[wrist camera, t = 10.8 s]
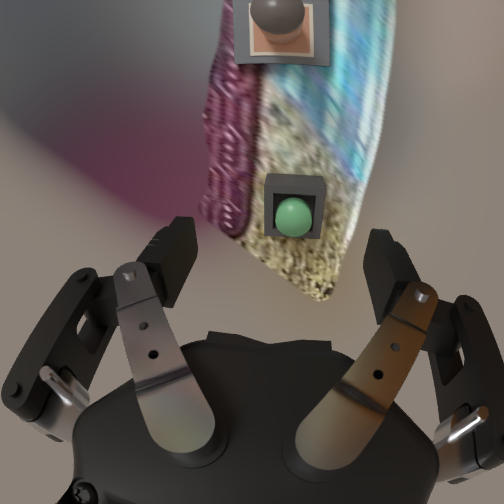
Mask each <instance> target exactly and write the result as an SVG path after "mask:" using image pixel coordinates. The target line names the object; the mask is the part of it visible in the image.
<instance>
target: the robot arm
mask: <svg viewBox="0 0 504 504" xmlns="http://www.w3.org/2000/svg"><path fill="white" fill-rule="evenodd" d="M197 253H198V245H197V238H196V231H195V223H194V219H193V217H180V216H177V217H175V219H174V220H173V221H172V223H171V224H170V225H169V227H168V226H167V227H166V226H165V227H164V228H162V229H161V230H160V231H158V232H157V233H156V234H155V236H154V237H153V238H152V240H151V241H150V242H149V244H148V245H147V246H146V248H145V249H144V250H143V252H142V253H141V254H140V256H139V257H138V258H137V260H136V261H135V262H128V263H125V264H123V265H121V266H120V267H119V268H117V269H116V271H115V272H114V275H113V276H106V277H98V275H97V273H96V270H95V269H93V268H82V269H80V270H78V271H76V272H75V273H73V274H72V275H71V276H70V278H69V279H68V280H67V282H66V283H65V285H64V286H63V287H62V289H61V290H60V291H59V293H58V294H57V295H56V297H55V298H54V300H53V301H52V303H51V304H50V306H49V307H48V309H47V310H46V311H45V313H44V314H43V316H42V317H41V319H40V320H39V322H38V324H37V325H36V327H35V328H34V330H33V332H32V333H31V335H30V336H29V338H28V340H27V342H26V343H25V345H24V347H23V348H22V350H21V352H20V354H19V355H18V357H17V359H16V361H15V363H14V365H13V366H12V368H11V370H10V372H9V374H8V376H7V378H6V380H5V382H4V384H3V387H2V391H1V397H2V401H3V403H4V405H5V406H6V407H7V408H9V409H10V410H11V411H12V412H14V413H15V414H16V415H17V416H19V417H20V419H21V420H23V421H24V422H25V423H27V424H28V425H29V426H31V427H32V428H34V429H35V430H37V431H38V432H40V433H42V434H45V435H46V436H48V437H49V438H51V439H52V440H54V441H57V442H63V441H64V442H66V443H69V444H71V445H72V446H73V453H74V473H73V480H72V482H71V485H70V486H69V488H68V490H67V491H66V492H65V494H64V495H63V496H62V497H61V499H60V500H59V501H58V502H57V503H56V504H427V502H428V499H429V497H430V494H431V492H432V490H433V488H434V485H436V484H440V483H444V482H448V483H450V484H458V483H460V482H463V481H466V480H468V479H470V478H473V477H475V476H478V475H480V474H482V473H484V472H487V471H489V470H491V469H493V468H495V467H497V466H499V465H501V464H503V463H504V363H503V360H502V357H501V354H500V351H499V348H498V345H497V343H496V340H495V338H494V335H493V333H492V330H491V328H490V325H489V323H488V321H487V318H486V316H485V314H484V312H483V310H482V308H481V306H480V304H479V303H478V302H477V301H476V300H475V299H474V298H472V297H470V296H467V295H460V296H458V297H457V299H456V300H455V302H454V304H453V303H450V302H446V301H443V300H440V299H438V294H437V292H436V291H435V290H434V288H433V287H431V286H430V285H428V284H427V283H424V282H421V280H420V278H419V275H418V273H417V271H416V269H415V267H414V265H413V264H412V261H411V259H410V258H409V255H408V253H407V251H406V249H405V248H404V247H403V246H402V245H401V244H400V243H398V242H396V241H394V240H393V238H392V236H391V234H390V232H389V231H388V230H383V229H372V230H371V232H370V235H369V239H368V244H367V248H366V252H365V255H364V261H363V269H364V274H365V277H366V280H367V285H368V288H369V292H370V296H371V300H372V304H373V308H374V312H375V316H376V321H377V325H381V326H380V327H379V329H378V330H377V332H376V333H375V335H374V336H373V337H372V339H371V340H370V342H369V343H368V345H367V346H366V348H365V349H364V350H363V351H362V353H361V354H360V356H359V357H358V358H357V360H356V361H355V360H353V359H351V358H350V357H348V356H346V355H344V354H342V353H339V352H337V351H333V350H332V346H331V341H319V340H318V341H317V340H296V341H289V342H282V343H274V344H267V343H263V342H260V341H257V340H253V339H251V338H247V337H244V336H241V335H238V334H229V333H221V332H212V331H209V332H208V335H207V339H206V340H199V341H195V342H191V343H188V344H185V345H183V346H181V347H179V346H178V343H177V341H176V339H175V336H174V334H173V332H172V330H171V327H170V325H169V323H168V320H167V318H166V316H165V313H164V311H163V307H167V308H173V307H174V304H175V302H176V300H177V298H178V296H179V293H180V291H181V289H182V287H183V285H184V283H185V281H186V279H187V276H188V274H189V272H190V270H191V268H192V266H193V264H194V262H195V260H196V258H197ZM83 314H84V315H85V317H86V321H85V323H84V325H83V326H82V328H81V330H80V332H79V334H78V335H77V325H78V323H79V321H80V319H81V317H82V316H83ZM117 326H120V330H121V335H122V339H123V343H124V347H125V351H126V355H127V358H128V362H129V366H130V369H131V372H132V376H133V378H132V379H130V380H129V381H127V382H126V383H124V384H123V385H121V386H120V387H118V388H117V389H115V390H114V391H112V392H110V393H109V394H107V395H106V396H104V397H102V398H101V399H99V400H98V401H96V402H94V403H93V404H92V405H90V406H89V402H90V398H89V394H88V392H87V391H88V389H89V387H90V384H91V382H92V379H93V377H94V374H95V372H96V370H97V368H98V365H99V363H100V361H101V359H102V357H103V354H104V352H105V350H106V347H107V345H108V343H109V341H110V339H111V337H112V335H113V333H114V331H115V329H116V327H117ZM461 347H462V350H463V354H464V358H465V361H464V366H463V364H462V360H461V356H460V353H459V349H460V348H461ZM420 350H423V351H427V352H428V356H429V360H430V365H431V369H432V375H433V380H434V385H435V392H436V398H437V404H438V412H439V420H440V424H439V425H438V427H437V428H436V430H435V434H434V440H433V441H431V440H430V439H429V438H428V436H427V435H426V434H425V433H424V432H423V431H422V430H421V429H420V428H419V427H418V426H417V425H416V424H415V423H414V422H413V421H412V419H411V418H410V417H409V416H407V414H406V413H405V412H404V411H403V410H402V409H401V408H400V407H399V406H398V405H397V404H396V403H395V401H394V399H395V397H396V396H397V394H398V392H399V390H400V389H401V387H402V385H403V383H404V381H405V379H406V378H407V376H408V373H409V372H410V370H411V368H412V366H413V364H414V362H415V360H416V358H417V356H418V353H419V351H420Z"/></svg>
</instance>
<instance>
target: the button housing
mask: <svg viewBox="0 0 504 504" xmlns="http://www.w3.org/2000/svg"><path fill="white" fill-rule="evenodd" d="M325 191H326V187H325V183H324V179H323V177H320V176H306V175H290V174H268V173H267V176H266V180H265V184H264V236H279V237H290V236H286V235H284V234H283V233H281V232H280V231H279V230H278V228H277V226H276V223H275V220H276V212H277V207H278V205H279V204H280V203H281V202H282V201H283V200H285V199H287V198H292V197H295V198H300V199H302V200H304V201H305V202H306V203H307V204H308V205H309V207H310V209H311V218H312V224H311V227H310V229H309V230H308V232H306V233H305V234H304V235H301V236H298V237H296V238H311V239H320V232H321V225H322V217H323V209H324V200H325Z"/></svg>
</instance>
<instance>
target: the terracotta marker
mask: <svg viewBox="0 0 504 504" xmlns="http://www.w3.org/2000/svg"><path fill="white" fill-rule="evenodd" d="M250 14H251V17H252V19H253V21H254V22H255V23H256V25H257V26H258V27H259V29H260V30H261V31H262V33H263V34H264V36H265V37H266V38H267V39H268V40H269V41H270V42H272V43H275V44H278V45H287V44H291V43H293V42H294V41H296V40H297V39H298V38H299V36H300V34H301V30H302V25H303V20H304V16H305V7H304V4H303V2H302V1H301V0H253V1H252V3H251V6H250Z"/></svg>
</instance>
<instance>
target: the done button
mask: <svg viewBox="0 0 504 504" xmlns="http://www.w3.org/2000/svg"><path fill="white" fill-rule="evenodd" d="M275 223H276V226H277V228H278V230H279V231H280V232H281V233H283V234H284V235H286V236H290V237H298V236H301V235H304V234H305V233H306V232H308V230H309V229H310V227H311V224H312V218H311V209H310V207H309V205H308V204H307V203H306V202H305V201H304V200H302V199H300V198H295V197H292V198H287V199H285V200H283V201H282V202H281V203H280V204H279V205H278V207H277V212H276V220H275Z"/></svg>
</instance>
